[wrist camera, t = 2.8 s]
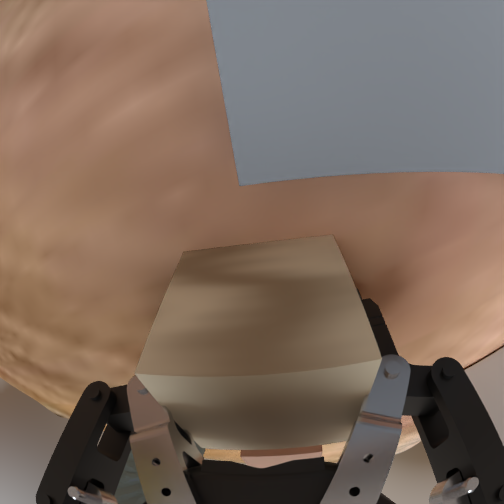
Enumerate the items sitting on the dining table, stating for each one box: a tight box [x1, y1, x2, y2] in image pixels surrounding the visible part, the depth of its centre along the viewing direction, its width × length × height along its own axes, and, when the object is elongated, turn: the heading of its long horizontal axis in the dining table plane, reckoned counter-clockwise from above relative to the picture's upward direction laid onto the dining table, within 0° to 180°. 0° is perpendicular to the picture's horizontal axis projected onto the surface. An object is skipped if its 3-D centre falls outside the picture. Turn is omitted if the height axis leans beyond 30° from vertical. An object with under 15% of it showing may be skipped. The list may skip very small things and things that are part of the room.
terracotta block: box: [240, 445, 322, 468], centre depth 15 cm, size 5×5×5 cm
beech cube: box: [134, 235, 382, 450], centre depth 10 cm, size 6×6×6 cm
